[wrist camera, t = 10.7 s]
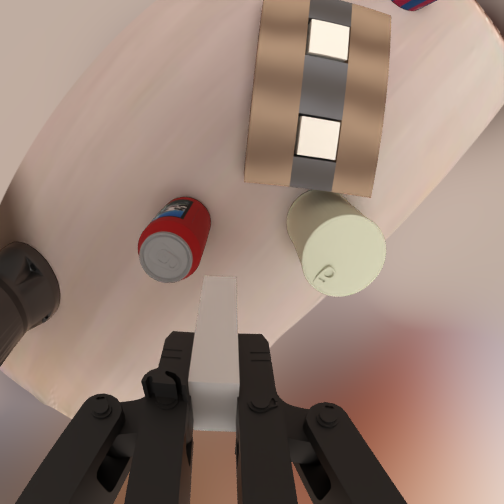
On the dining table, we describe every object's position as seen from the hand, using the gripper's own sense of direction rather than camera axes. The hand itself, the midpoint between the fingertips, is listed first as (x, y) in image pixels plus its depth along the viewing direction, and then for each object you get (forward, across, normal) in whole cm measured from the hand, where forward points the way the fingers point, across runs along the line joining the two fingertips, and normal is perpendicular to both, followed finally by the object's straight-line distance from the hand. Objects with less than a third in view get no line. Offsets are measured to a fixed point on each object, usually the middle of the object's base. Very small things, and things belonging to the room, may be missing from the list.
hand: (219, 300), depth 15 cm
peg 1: (+25, +9, +19) cm, 32 cm away
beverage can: (+26, -5, -4) cm, 27 cm away
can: (+26, +12, -4) cm, 29 cm away
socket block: (+25, +9, +13) cm, 30 cm away
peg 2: (+25, +9, +8) cm, 28 cm away
